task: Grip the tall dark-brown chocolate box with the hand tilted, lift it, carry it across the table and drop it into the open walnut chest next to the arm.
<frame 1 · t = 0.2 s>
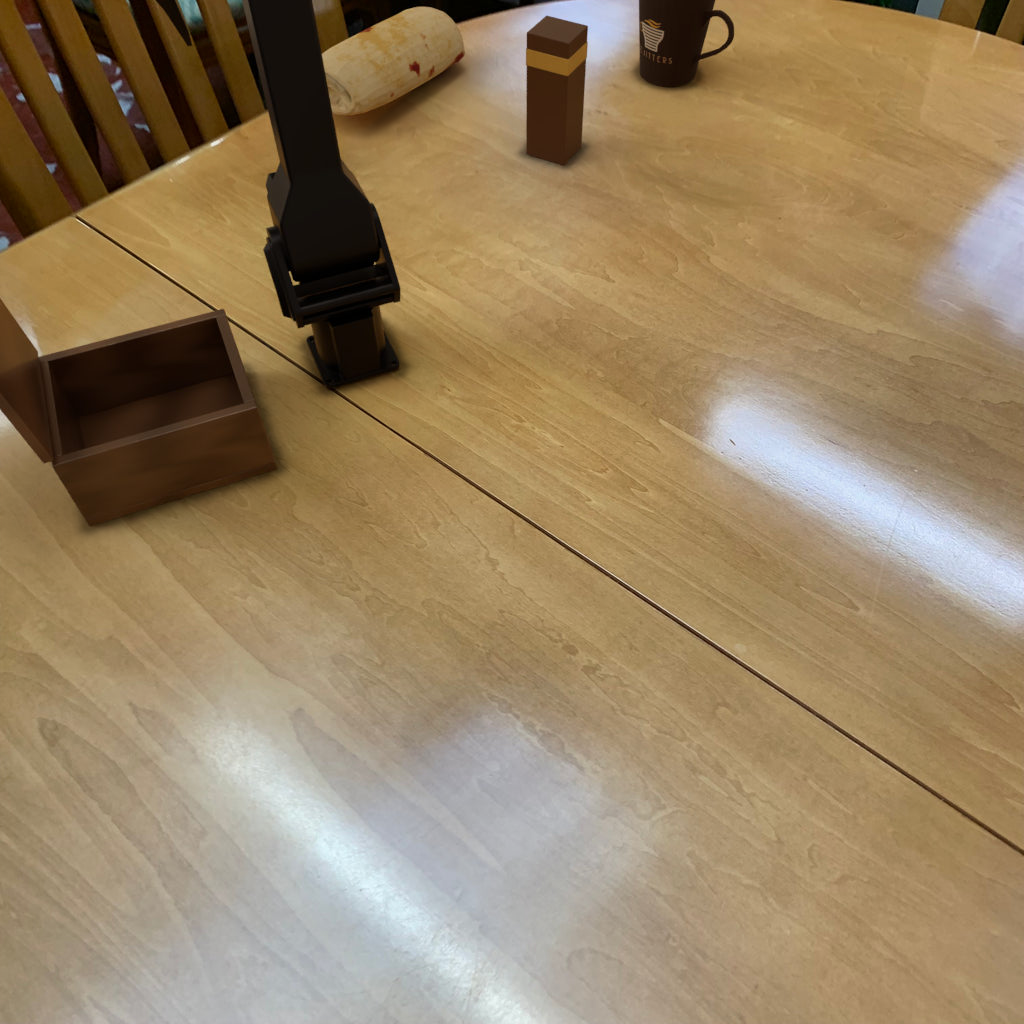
hand: (240, 34, 83), 15 cm above the table, tool pointing down, fingers open, 9 cm apart
coffee mug: (672, 80, 106), on the table
chest: (172, 443, 73), on the table
chocolate box: (553, 150, 97), on the table
food model: (321, 94, 97), point 4 cm above the table
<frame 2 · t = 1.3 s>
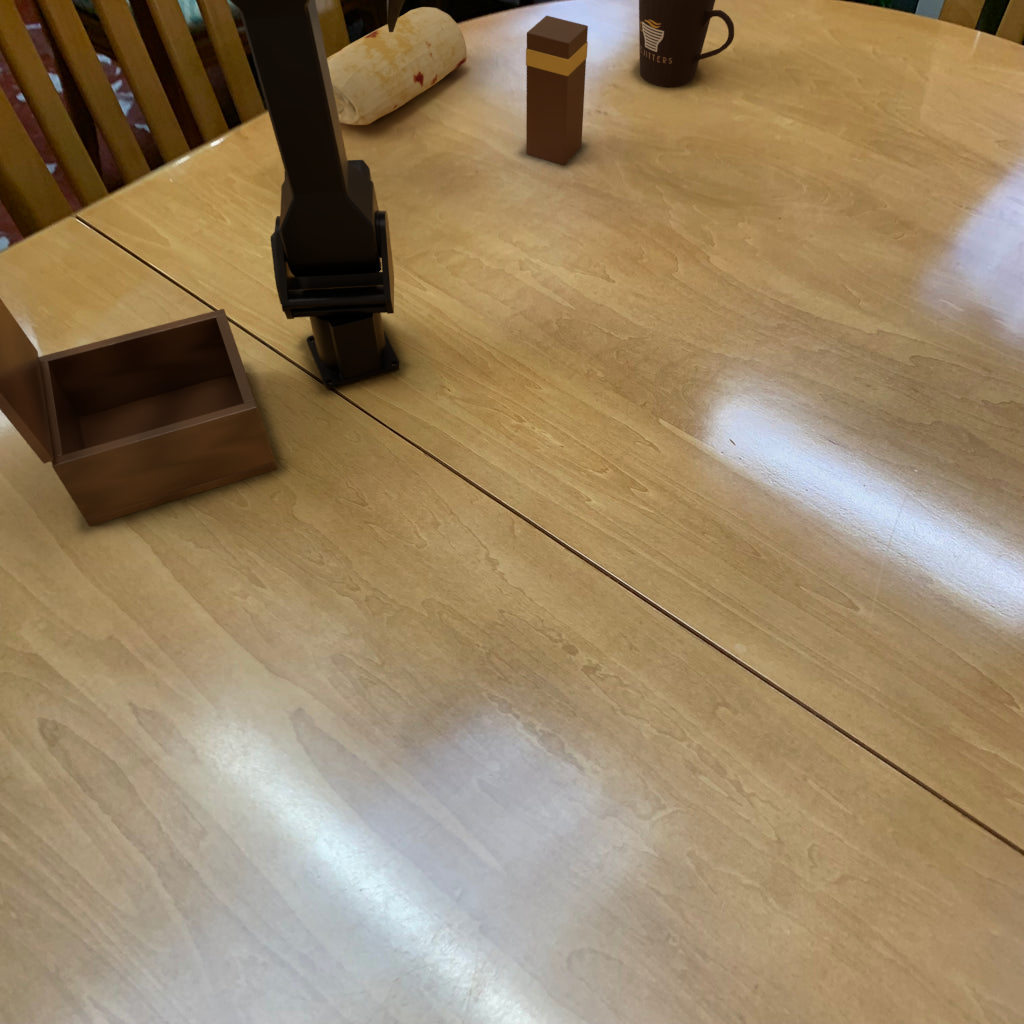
hand: (340, 31, 85), 14 cm above the table, tool tilted 15°, fingers open, 9 cm apart
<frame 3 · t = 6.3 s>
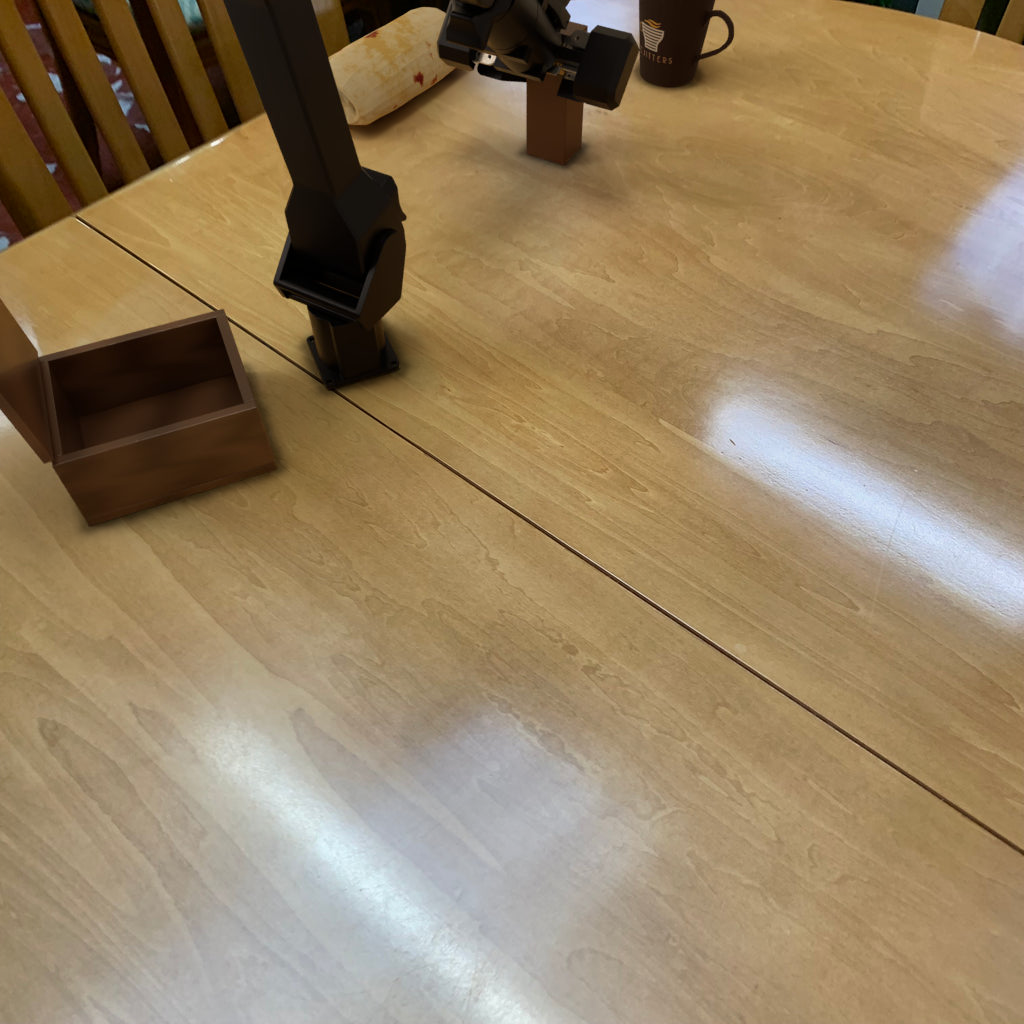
hand: (562, 83, 93), 7 cm above the table, tool tilted 45°, fingers closed on chocolate box, 4 cm apart
chocolate box: (553, 150, 97), on the table, touching gripper
everything else where it was.
when the fingers open (9 cm above the table, at t = 16.5 s): chocolate box drops 3 cm and tips over, resting on chest.
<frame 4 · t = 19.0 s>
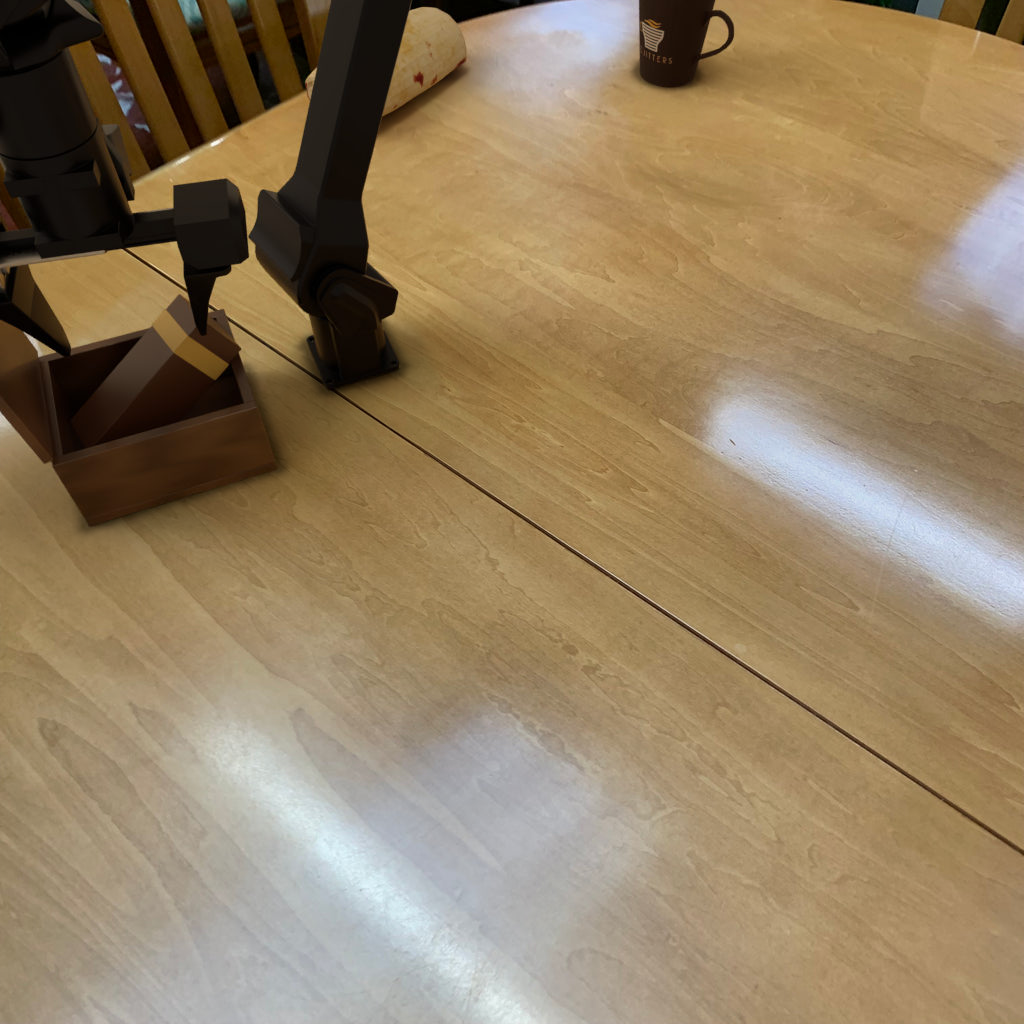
hand: (136, 342, 64), 10 cm above the table, tool pointing down, fingers open, 9 cm apart
chocolate box: (101, 448, 69), point 3 cm above the table, tilted 61°, touching chest
everything else where it was.
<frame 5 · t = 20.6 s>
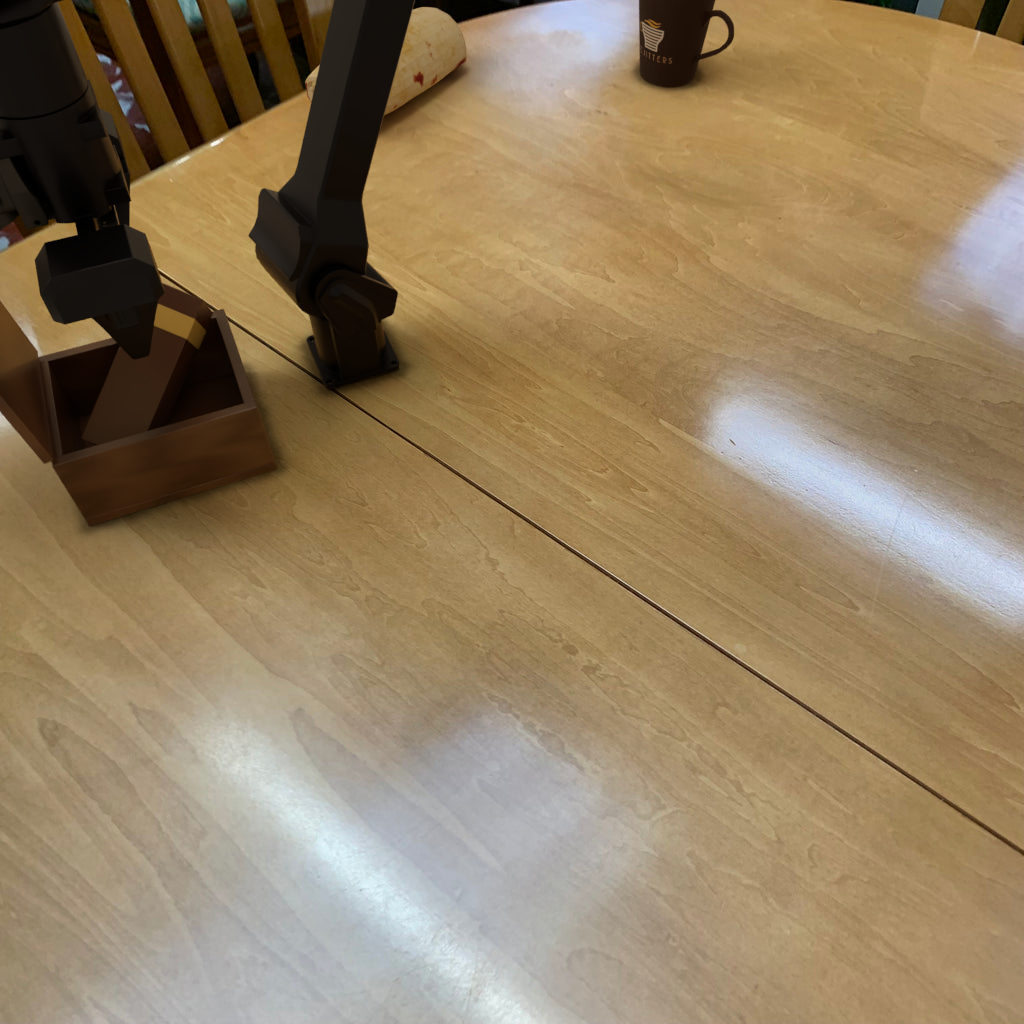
hand: (130, 313, 63), 12 cm above the table, tool pointing down, fingers open, 9 cm apart
chocolate box: (116, 451, 68), point 3 cm above the table, tilted 59°
everything else where it was.
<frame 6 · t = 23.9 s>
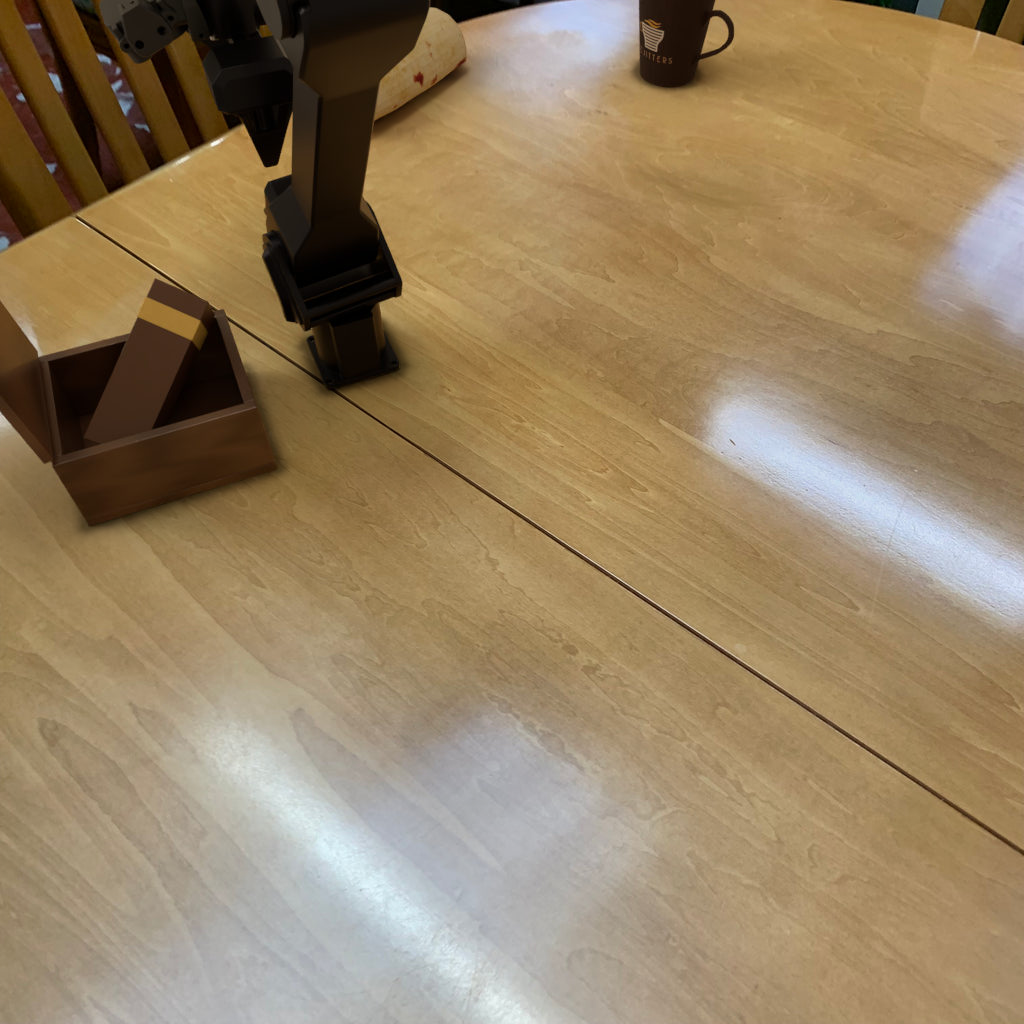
hand: (257, 136, 76), 13 cm above the table, tool pointing down, fingers open, 9 cm apart
chocolate box: (117, 451, 68), point 3 cm above the table, tilted 60°, touching chest
everything else where it was.
at the end: chocolate box inside the target area in the chest (4.2 cm from its centre), point 3.3 cm above the chest's base; the gripper is holding nothing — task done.
